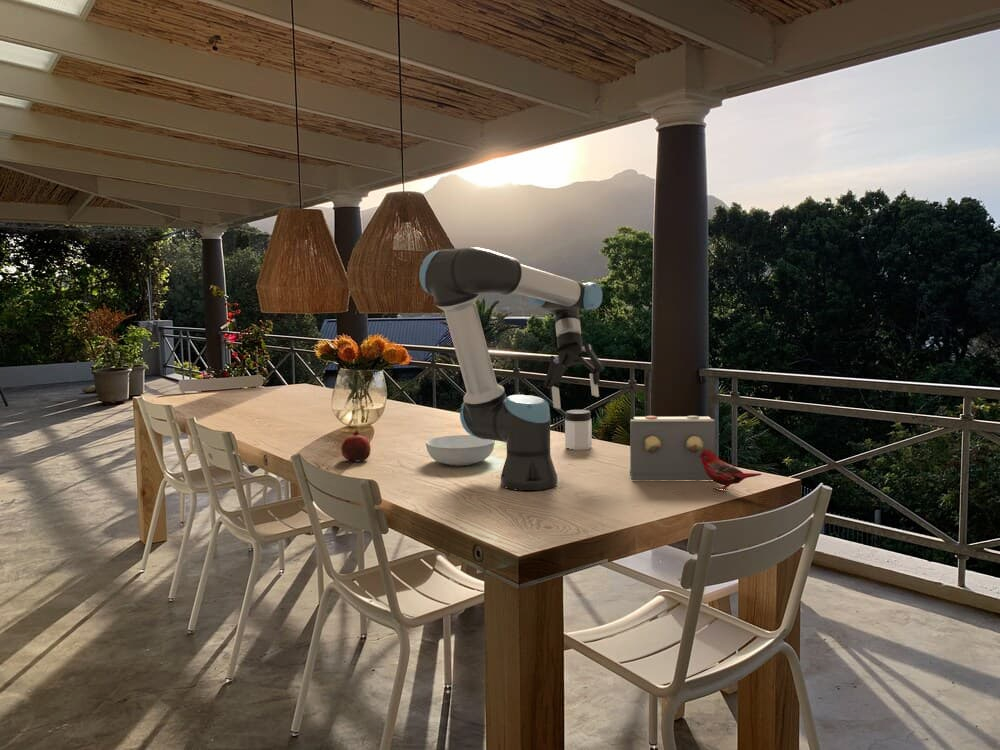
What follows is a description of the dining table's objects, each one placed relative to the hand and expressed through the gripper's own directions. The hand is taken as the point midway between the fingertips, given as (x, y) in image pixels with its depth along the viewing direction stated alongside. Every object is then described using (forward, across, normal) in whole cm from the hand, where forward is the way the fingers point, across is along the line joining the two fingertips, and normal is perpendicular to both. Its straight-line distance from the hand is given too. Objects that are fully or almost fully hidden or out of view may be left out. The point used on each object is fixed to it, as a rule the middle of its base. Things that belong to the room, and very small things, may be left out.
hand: (575, 402), depth 211 cm
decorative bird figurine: (+33, -38, -7) cm, 51 cm away
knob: (+19, -28, -12) cm, 35 cm away
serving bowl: (+12, +37, +10) cm, 40 cm away
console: (+26, -21, -10) cm, 35 cm away
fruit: (+8, +65, +28) cm, 71 cm away
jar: (+5, +18, -26) cm, 32 cm away
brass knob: (+18, -19, -6) cm, 26 cm away
